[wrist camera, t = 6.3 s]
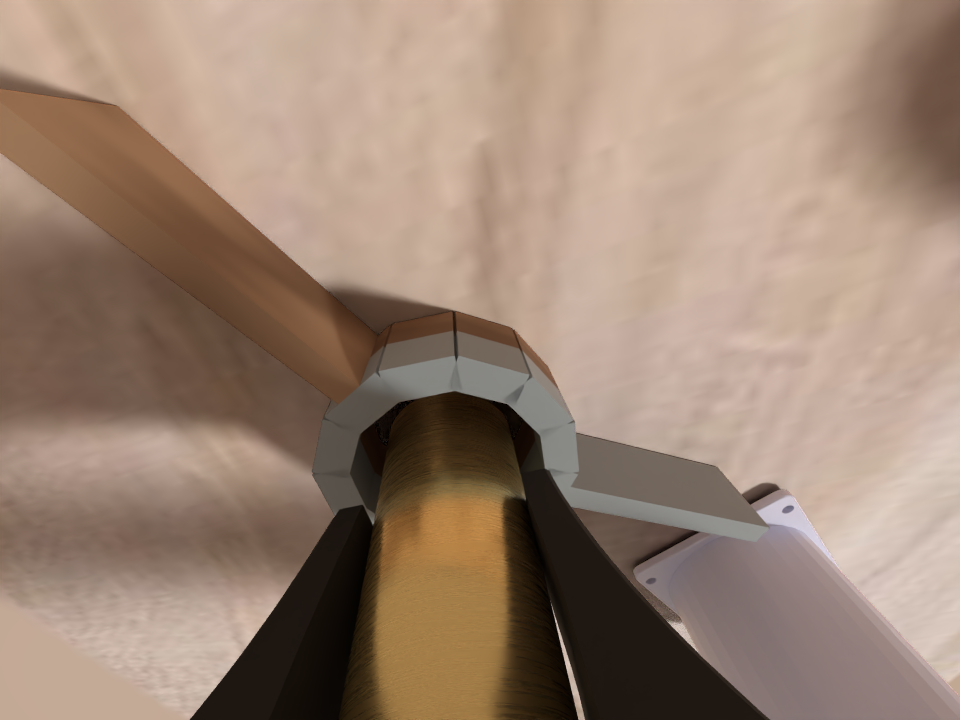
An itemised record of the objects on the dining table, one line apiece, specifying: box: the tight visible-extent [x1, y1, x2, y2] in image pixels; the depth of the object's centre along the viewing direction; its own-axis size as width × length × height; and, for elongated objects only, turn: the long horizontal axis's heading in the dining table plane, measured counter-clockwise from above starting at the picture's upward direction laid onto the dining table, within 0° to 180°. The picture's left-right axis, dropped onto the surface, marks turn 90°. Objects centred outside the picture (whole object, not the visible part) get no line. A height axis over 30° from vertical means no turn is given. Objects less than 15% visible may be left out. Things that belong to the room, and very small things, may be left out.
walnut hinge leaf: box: [0, 89, 558, 477], centre depth 11 cm, size 16×8×3 cm, turn 41°
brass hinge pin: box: [339, 391, 578, 720], centre depth 9 cm, size 4×4×9 cm
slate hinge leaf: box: [312, 331, 770, 542], centre depth 13 cm, size 14×10×3 cm
